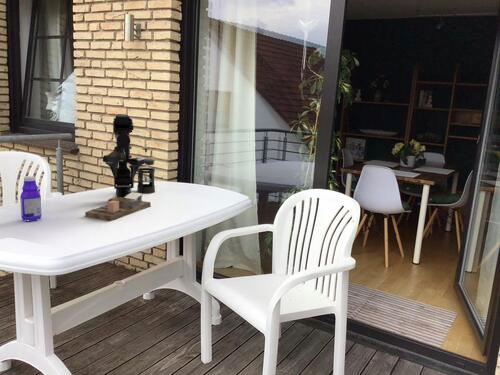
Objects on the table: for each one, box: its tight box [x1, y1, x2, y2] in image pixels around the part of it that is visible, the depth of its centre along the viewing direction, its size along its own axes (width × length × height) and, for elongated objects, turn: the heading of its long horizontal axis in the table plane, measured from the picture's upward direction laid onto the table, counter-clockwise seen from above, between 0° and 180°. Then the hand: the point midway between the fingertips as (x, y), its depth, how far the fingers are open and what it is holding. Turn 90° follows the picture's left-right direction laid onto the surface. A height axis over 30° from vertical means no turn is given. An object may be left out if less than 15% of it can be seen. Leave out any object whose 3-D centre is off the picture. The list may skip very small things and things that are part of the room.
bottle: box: [19, 175, 42, 221], centre depth 179 cm, size 7×6×17 cm
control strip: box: [84, 194, 152, 222], centre depth 198 cm, size 13×28×5 cm, turn 158°
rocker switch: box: [124, 191, 144, 200], centre depth 207 cm, size 6×6×1 cm
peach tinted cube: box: [106, 200, 119, 212], centre depth 190 cm, size 3×4×4 cm
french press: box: [136, 147, 156, 195], centre depth 237 cm, size 12×9×23 cm
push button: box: [110, 196, 137, 203], centre depth 201 cm, size 11×4×2 cm, turn 68°
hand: (123, 179), depth 204 cm, fingers open, 9 cm apart
